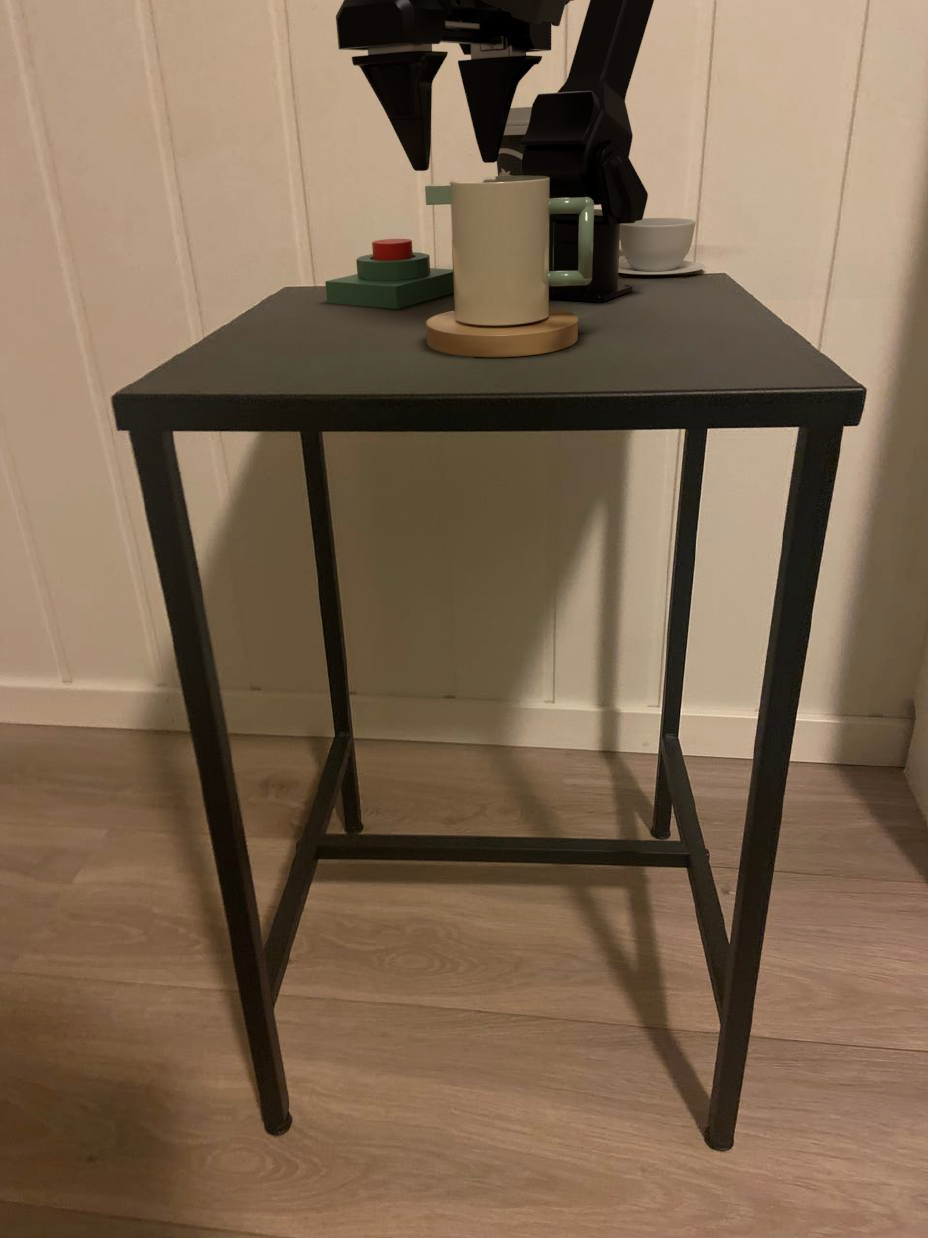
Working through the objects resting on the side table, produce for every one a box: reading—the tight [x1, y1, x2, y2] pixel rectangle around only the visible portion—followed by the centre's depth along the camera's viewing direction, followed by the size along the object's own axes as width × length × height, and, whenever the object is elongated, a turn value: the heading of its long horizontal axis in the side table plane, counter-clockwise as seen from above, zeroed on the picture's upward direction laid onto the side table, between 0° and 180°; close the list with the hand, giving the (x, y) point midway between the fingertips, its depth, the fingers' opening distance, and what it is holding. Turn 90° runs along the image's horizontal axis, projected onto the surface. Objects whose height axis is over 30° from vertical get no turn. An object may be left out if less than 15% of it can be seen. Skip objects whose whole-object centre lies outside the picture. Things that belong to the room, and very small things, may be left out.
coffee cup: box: [496, 106, 554, 271], centre depth 88 cm, size 10×10×15 cm
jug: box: [424, 175, 595, 326], centre depth 65 cm, size 11×7×9 cm, turn 86°
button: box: [371, 238, 413, 260], centre depth 85 cm, size 4×4×2 cm
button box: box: [325, 251, 454, 310], centre depth 86 cm, size 10×8×4 cm
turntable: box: [425, 307, 579, 359], centre depth 68 cm, size 11×11×2 cm
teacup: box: [618, 217, 706, 276], centre depth 93 cm, size 10×10×5 cm
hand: (457, 166), depth 69 cm, fingers open, 9 cm apart
